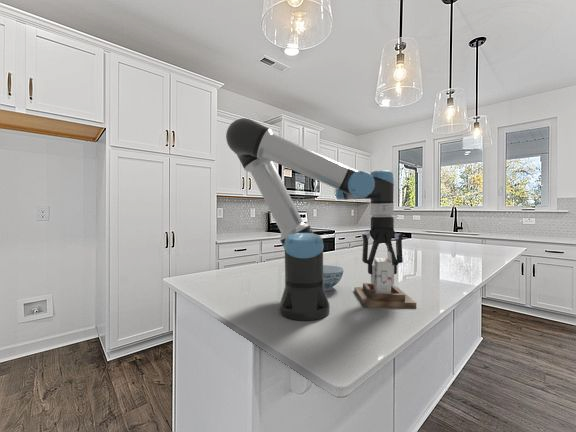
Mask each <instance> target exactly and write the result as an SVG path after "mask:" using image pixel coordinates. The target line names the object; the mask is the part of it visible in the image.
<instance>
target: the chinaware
mask: <svg viewBox="0 0 576 432" xmlns="http://www.w3.org/2000/svg"><path fill="white" fill-rule="evenodd" d="M344 272H345V271H344V268H343V267H341V266H338V265H330V264H329V265H328V264H327V265H326V264H323V286H324V290H325V292H327V291H332V290H333V289H334V287H336V285H337V284H339V282H340V281H341V280H342V277H343V274H344Z"/></svg>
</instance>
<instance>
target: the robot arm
mask: <svg viewBox="0 0 576 432" xmlns="http://www.w3.org/2000/svg"><path fill="white" fill-rule="evenodd" d="M225 138H226V139H225V141H226V143H227V146H228V147H229V149H230V150H231V151H232V152H233V153H234V154H236V156H237V158H238V160H239V162H240V163H241V165H242V167H243V169H244V171H246V172H248V173H250V174H251V176H252V178H253V179H254V182H255V183H256V185H257V188H258V190H259V192H260V194H261V196H262V197H263V200H264V201H265V203H266V206H267V207H268V209H269V211H270V214H271V216H272V217H273V219H274V222H275V223H276V225H277V227H278V229H279V231H280V238H279V241H280V243H281V245H282V247H283V249H284V290H283V293H282V295H281V296H282V297H281V299H280V302H279V313H281V314H280V315H281V316H283V317H284V316H285V317H284V318H287V319H289V320H290V319H291V320H295V321H314V320H320V319H323V318H326V317H327V316H328V315H329V314H330V303H329V299H328V296H327V293H326V291H325V290H324V286H323V265H324V247H325V246H324V240H323V237H322V236H321V235H319V234H316V233H314V232H313V229H312V227H311V225H310V224H309V223H307V222H304V221H303V219H302V217H301V215H300V213H299V211H298V209H297V207H296V205H295V203H294V201H293V199H292V198H291V195H290V193H289V192H288V190H287V187H286V185H285V184H284V182H283V179H282V178H281V176H280V174H279V172H278V170H277V168H276V165H275V164H274V163H276V164H279V165H281V166H283V167H285V168H287V169H290V170H292V171H295V172H297V173H299V174H301V175H303V176H306V177H308V178H310V179H313V180H315V181H316V182H317V181H318V182H319V183H322V184H324V185H327V186H329V187H331V188H334V189H335V190H334V191H335V198H336V199H338V200H344V201H347V200H370V215H371V217H370V230H369V232H366V233H362V234H361V238H362V262H363V263H364V264H366V265H367V273H368V274H369V275H370V283H372V284H375V265H374V258H376V254H377V250H378V247H379V245H380V244H385V245H386V248H387V250H388V251H389V252H391V254H392V280H391V284H393V285H395V275H397V274H398V265H399V264H403V262H404V257H403V244H402V242H403V237H404V234H402V233H397V232H396V231H395V229H394V228H395V226H394V223H395V221H394V220H395V219H394V215H395V214H394V212H395V211H394V189H395V188H394V186H395V183H394V182H395V181H394V173H393V172H392V171H391V170H388V169H387V170H385V169H384V170H383V169H382V170H381V169H380V170H373V171H371V172H370V173H369V172H368V171H365V170H358V169H354V168H352V167H351V166H350V167H349V166H348V165H345V164H343V163H341V162H338V161H336V160H333V159H332V158H329V157H327V156H325V155H322V154H320V153H319V152H318V153H317V152H316V151H313V150H311V149H309V148H306V147H304V146H301V145H299V144H297V143H295V142H293V141H291V140H288V139H286V138H283V137H281V136H279V135H277V134H275V133H273V131H272V129H271V128H270V127H266V126H265V125H262V124H260V123H259V122H257V121H254V120H253V119H250V118H246V117H245V118H237V119H236V120H234V121H233V122H231V123H230V125H229V126H228V127H227V130H226V133H225ZM370 237H371V238H372V240H373V241H372V245H371V249H370V253H369V240H370ZM393 238H394V239H395V249H396V254H395V250H394V248H393V243H392V239H393ZM368 253H369V255H368Z"/></svg>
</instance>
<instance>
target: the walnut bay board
mask: <svg viewBox="0 0 576 432" xmlns="http://www.w3.org/2000/svg"><path fill="white" fill-rule="evenodd" d="M373 285H374V284H372V283H371V282H363V283H362V286H359V287H358V286H354V289H353V290H354V293H355V295H357V297H358V299H359V301H360V302H361V304H362V305H363V307H364V308H409V309H410V308H412V309H413V308H417V302H416V301H415V300H414V299H413V298H412V297H410V296H409V295H408V294H407V293H405V292H404V291H402V289H400V287H398V286H395V284H391V294H375V292H374V290H373Z"/></svg>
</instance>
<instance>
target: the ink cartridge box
mask: <svg viewBox="0 0 576 432" xmlns="http://www.w3.org/2000/svg"><path fill="white" fill-rule="evenodd" d="M373 264H374V265H375V284H374V285H373V290H374V292H375V294H391V280H392V254H391V252H389V251H388V249H387V257H386V258H385V257H374V261H373Z"/></svg>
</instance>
